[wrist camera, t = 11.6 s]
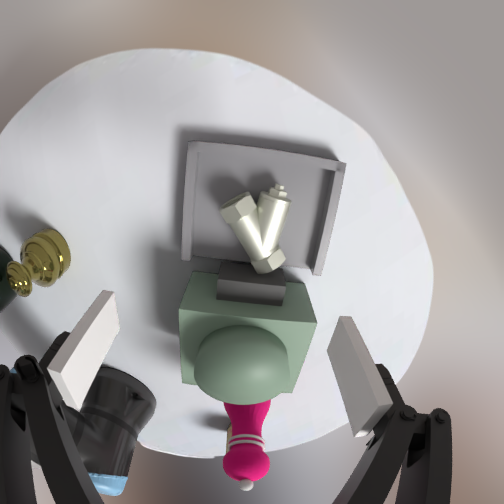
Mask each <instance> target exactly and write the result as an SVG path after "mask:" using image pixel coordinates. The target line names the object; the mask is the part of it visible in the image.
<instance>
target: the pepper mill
mask: <svg viewBox="0 0 504 504" xmlns="http://www.w3.org/2000/svg"><path fill="white" fill-rule="evenodd" d="M270 402H271V399H270V400H268V401H265V402H261V403H257V404H249V405H238V404H230V403H226V402H224V406H225V410H226V412H227V414H228V416H229V418H230V420H231V424H232V436H231V438H230V439H229V440H228V444H229V445H228V450H229V452H227V453H226V455H225V456H224V458H223V468H224V470H225V472H226V474H227V475H228V476H229V477H231V478H233V479H235V480H238V481H240V482H239V487H240V488H241V489H242V490H245V491H247V490H250V489H252V487H253V482H252V481H256V480H258V479H261V478H262V477H263V476H265V475H266V474H267V472H268V470H269V465H270V461H269V457H268V456H267V455H266V454H265V453H264V452H263V451H264V450H265V440H264V439H263V438H262V436H261V429H262V424H263V421H264V419H265V417H266V415H267V413H268V410H269V407H270Z"/></svg>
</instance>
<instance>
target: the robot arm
mask: <svg viewBox="0 0 504 504" xmlns="http://www.w3.org/2000/svg"><path fill="white" fill-rule="evenodd" d="M119 330H120V325H119V320H118V314H117V308H116V301H115V294H114V292H112V291H106V290H103V291H102V292H101V293H100V294H99V296H98V297H97V298H96V300H95V301H94V302H93V303H92V305H91V306H90V307H89V309H88V310H87V311H86V313H85V314H84V315H83V317H82V318H81V319H80V321H79V322H78V324H77V325H76V326H75V328H74V329H73V331H72V332H71V333H69V332H66V331H65V332H63V333H62V334H60V335H59V336H58V337H57V338H56V339H55V341H54V342H53V344H52V345H51V346H50V348H49V349H48V350H47V352H46V353H45V355H44V356H43V358H42V359H41V361H40V362H39V364H38V362H37V360H36V358H35V357H34V356H31V355H24V356H21V357H20V358H18V359H17V360H16V362H15V364H14V367H13V368H12V369H11V370H9V369H8V367H7V366H5V365H2V364H1V365H0V504H37V501H36V496H35V490H34V483H33V475H32V469H38V468H42V471H43V473H44V476H45V479H46V481H47V484H48V487H49V489H50V491H51V493H52V496H53V498H54V501H55V503H56V504H104V502H103V501H102V499H101V497H100V495H99V493H102V494H106V495H112V496H116V495H119V494H121V493H122V491H123V489H124V486H125V483H126V481H127V479H128V477H127V476H128V472H129V467H130V464H131V460H132V456H133V452H134V449H135V444H136V441H137V437H138V434H139V433H140V432H141V430H142V429H143V428H144V426H145V425H146V424H147V423H148V421H149V420H150V419H151V417H152V416H153V414H154V411H155V408H156V399H155V397H154V395H153V394H152V392H151V391H150V390H149V389H148V388H147V387H146V386H145V385H143V384H142V383H141V382H139V381H138V380H136V379H135V378H133V377H131V376H130V375H128V374H125V373H123V372H121V371H118V370H115V369H111V368H106V367H100V366H101V364H102V362H103V360H104V358H105V356H106V354H107V352H108V350H109V348H110V346H111V345H112V343H113V341H114V339H115V337H116V335H117V333H118V332H119ZM327 353H328V356H329V359H330V362H331V365H332V368H333V371H334V374H335V377H336V380H337V383H338V386H339V389H340V392H341V396H342V399H343V402H344V405H345V408H346V412H347V415H348V418H349V422H350V425H351V428H352V431H353V435H354V437H360V436H366V435H368V434H369V433H370V432H371V431H372V430H373V431H374V434H375V435H374V436H373V437H372V439H371V440H370V441H369V442H368V443H367V444H366V445H368V447H367V449H366V451H365V452H364V454H363V456H362V458H361V460H360V461H359V463H358V465H357V466H356V468H355V470H354V471H353V473H352V475H351V476H350V478H349V479H348V481H347V483H346V484H345V486H344V487H343V489H342V490H341V492H340V493H339V495H338V496H337V498H336V499H335V500H334V502H333V503H332V504H383V503H384V501H385V499H386V497H387V495H388V493H389V491H390V489H391V487H392V485H393V483H394V481H395V479H396V476H397V474H398V472H399V470H400V467H401V465H402V469H401V475H400V481H399V487H398V492H397V497H396V502H395V504H450V495H451V481H452V480H451V479H452V432H451V419H450V415H449V414H448V413H447V412H446V411H445V410H443V409H441V408H437V409H434V410H433V411H432V412H431V413H430V414H419V413H417V412H416V410H415V409H414V408H412V407H411V406H408V405H405V403H404V401H403V400H402V397H401V395H400V393H399V391H398V389H397V387H396V385H395V384H394V381H393V379H392V377H391V375H390V373H389V371H388V369H387V368H386V367H385V366H384V365H383V364H375V363H374V361H373V359H372V357H371V355H370V353H369V351H368V349H367V347H366V345H365V343H364V341H363V339H362V337H361V335H360V333H359V331H358V329H357V327H356V325H355V323H354V321H353V319H352V317H348V316H340V317H339V319H338V322H337V325H336V328H335V330H334V333H333V336H332V338H331V341H330V344H329V346H328V349H327ZM81 405H82V407H81ZM80 407H81V410H80ZM74 408H75V409H78V410H80V412H78V411H77V410H75V409H74Z"/></svg>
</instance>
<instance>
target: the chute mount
mask: <svg viewBox="0 0 504 504" xmlns="http://www.w3.org/2000/svg"><path fill="white" fill-rule="evenodd" d="M345 168H346V163H343V162H340V161H336V160H331V159H326V158H321V157H316V156H311V155H305V154H300V153H294V152H288V151H281V150H275V149H268V148H261V147H253V146H245V145H236V144H226V143H215V142H203V141H188V151H187V162H186V174H185V188H184V204H183V224H182V254H181V260H185V261H190V260H191V258H192V255H193V256H201V257H210V258H218V259H226V260H235V261H244V262H251V260H250V257H249V256H248V254H247V252H246V251H245V249H244V248H243V246H242V244H241V243H240V241H239V239H238V238H237V236H236V235H235V233H234V231H233V230H232V228H231V226H230V225H229V223H226V222H225V220H224V218H223V217H222V215H221V213H220V210H219V209H220V207H221V206H222V205H223V204H225V203H226V202H227V201H229V200H230V199H232V198H234V197H236V196H237V195H239V194H242V193H244V192H249V193H250V194H251V196H252V198H253V200H254V201H255V203H256V205H257V202H258V199H259V195H260V192H261V191H266V192H268V191H269V187H275V184H276V183H277V184H280V185H283V186H284V189H283V190H284V191H286V192H287V195H286V198H288V199H290V200H291V201H292V203H291V206H290V209H289V212H288V215H287V218H286V221H285V224H284V227H283V230H282V233H281V236H280V239H279V242H278V244H279V246H280V248H281V250H282V251H283V253H284V256H285V258H286V259H285V261H284V262H283V263H282V264H281V265H280V266H288V267H297V268H306V269H311V272H312V274H313V275H317V276H321V274H322V270H323V266H324V262H325V259H326V255H327V251H328V247H329V243H330V238H331V234H332V230H333V226H334V221H335V217H336V212H337V208H338V203H339V198H340V194H341V189H342V184H343V179H344V174H345Z"/></svg>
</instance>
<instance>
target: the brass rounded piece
mask: <svg viewBox="0 0 504 504" xmlns="http://www.w3.org/2000/svg"><path fill="white" fill-rule="evenodd" d="M20 260H21V264H20V263H18V262H16V261H11V262H9V263H8V264H7V266H6V277H7V280H8V283H9V285H10V287H11V288H12V289H13V290H14V292H15V293H17V294H18V295H19V296H22V297H27V296H29V295H30V294H31V291H32V282H34V283H35V284H37V285H38V286H41V287H50V286H52V285H53V284H54V283H55V282H56V280H57V279H59V278H60V277H61V276H62V275H63V274H64V273H65V272H66V271H67V270H68V268H69V266H70V261H71V256H70V251H69V248H68V245H67V243H66V241H65V240H64V238H63V237H62V236H61V235H60V234H59V233H58V232H56V231H55V230H53V229H48V228H47V229H43V230H41V231H40V232H38V233H35V234H34V235H33V236H32V237H30V238H28V239H26V240H25V241H24V242H23V244H22V246H21V250H20ZM31 281H32V282H31Z"/></svg>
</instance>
